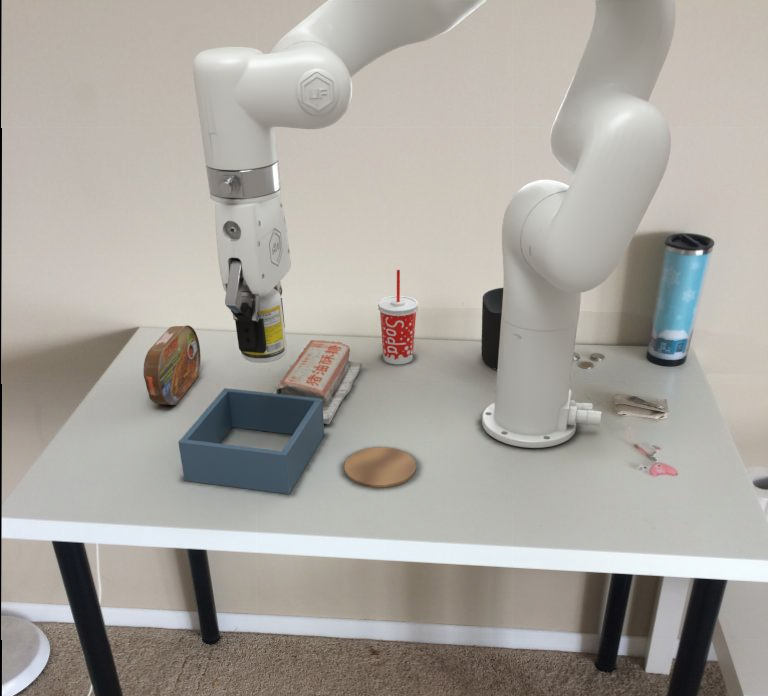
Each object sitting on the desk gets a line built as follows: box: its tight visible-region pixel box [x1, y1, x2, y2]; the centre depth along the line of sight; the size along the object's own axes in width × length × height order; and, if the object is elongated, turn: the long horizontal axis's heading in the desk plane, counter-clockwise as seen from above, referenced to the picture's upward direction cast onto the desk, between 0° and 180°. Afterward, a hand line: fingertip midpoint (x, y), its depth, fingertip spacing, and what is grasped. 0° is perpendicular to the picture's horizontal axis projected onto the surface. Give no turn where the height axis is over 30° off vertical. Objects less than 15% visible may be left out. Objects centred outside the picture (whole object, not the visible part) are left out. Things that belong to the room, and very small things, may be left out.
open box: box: [177, 387, 325, 495], centre depth 110 cm, size 14×15×6 cm
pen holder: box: [481, 287, 503, 370], centre depth 132 cm, size 9×9×10 cm
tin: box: [143, 324, 202, 406], centre depth 125 cm, size 15×3×8 cm, turn 170°
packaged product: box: [271, 339, 363, 425], centre depth 125 cm, size 18×5×10 cm
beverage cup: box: [377, 269, 419, 365], centre depth 132 cm, size 6×6×14 cm
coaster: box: [343, 446, 417, 489], centre depth 109 cm, size 9×9×1 cm
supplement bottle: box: [240, 286, 288, 364], centre depth 100 cm, size 5×5×10 cm
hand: (262, 338), depth 102 cm, fingers closed on supplement bottle, 5 cm apart
